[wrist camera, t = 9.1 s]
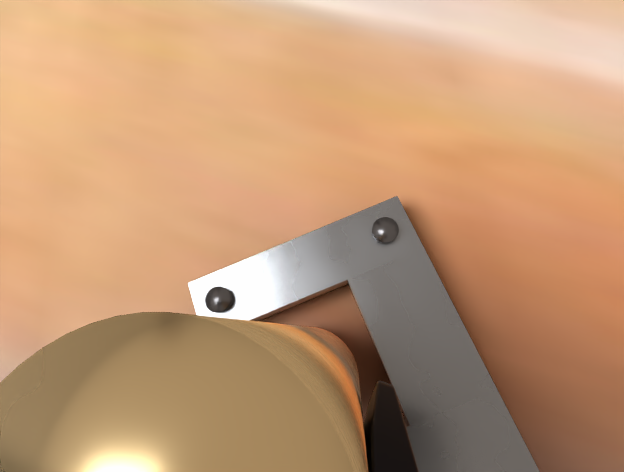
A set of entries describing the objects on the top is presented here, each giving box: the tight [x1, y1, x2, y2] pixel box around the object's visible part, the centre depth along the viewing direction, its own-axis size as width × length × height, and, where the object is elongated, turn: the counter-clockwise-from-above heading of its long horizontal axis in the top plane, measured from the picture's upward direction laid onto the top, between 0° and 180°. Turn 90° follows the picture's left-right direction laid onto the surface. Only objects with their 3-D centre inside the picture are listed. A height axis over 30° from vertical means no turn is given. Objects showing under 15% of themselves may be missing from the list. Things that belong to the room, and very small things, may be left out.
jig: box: [188, 196, 540, 472], centre depth 14 cm, size 18×11×2 cm, turn 22°
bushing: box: [0, 312, 368, 472], centre depth 9 cm, size 4×4×12 cm
